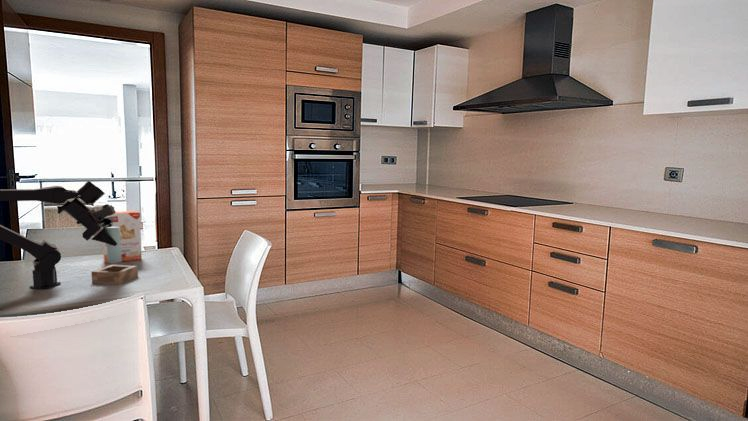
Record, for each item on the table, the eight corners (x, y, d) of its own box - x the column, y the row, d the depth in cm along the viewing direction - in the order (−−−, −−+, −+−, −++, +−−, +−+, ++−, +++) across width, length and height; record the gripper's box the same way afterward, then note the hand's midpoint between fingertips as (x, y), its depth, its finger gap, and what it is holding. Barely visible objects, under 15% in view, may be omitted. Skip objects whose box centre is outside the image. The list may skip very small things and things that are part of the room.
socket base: (119, 284, 164) (118, 273, 163) (92, 282, 165) (91, 271, 165) (137, 276, 174) (137, 265, 174) (112, 274, 175) (111, 264, 175)
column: (116, 263, 166) (114, 228, 164) (104, 262, 167) (102, 228, 165) (124, 260, 170) (122, 226, 169) (113, 259, 171) (111, 226, 169)
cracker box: (104, 264, 191) (101, 213, 188) (103, 260, 196) (100, 211, 193) (142, 260, 199) (140, 211, 196) (140, 257, 204) (138, 210, 201)
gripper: (91, 200, 156) (129, 232, 160) (106, 195, 173) (139, 223, 178) (65, 224, 154) (104, 255, 159) (83, 216, 172) (117, 244, 177)
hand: (118, 243), depth 168 cm, fingers closed on column, 4 cm apart
